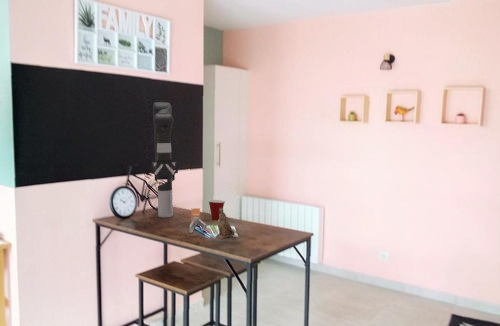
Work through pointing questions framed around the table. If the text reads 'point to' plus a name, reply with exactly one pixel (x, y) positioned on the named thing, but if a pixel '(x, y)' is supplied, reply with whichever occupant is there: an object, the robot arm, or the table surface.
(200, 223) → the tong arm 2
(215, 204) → the plastic cup
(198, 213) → the collar
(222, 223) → the brown carved statuette
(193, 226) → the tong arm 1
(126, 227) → the table surface
